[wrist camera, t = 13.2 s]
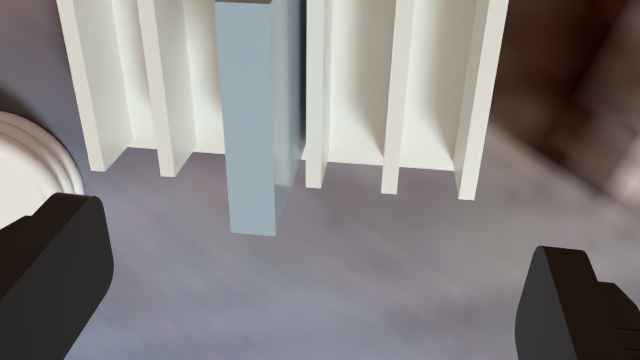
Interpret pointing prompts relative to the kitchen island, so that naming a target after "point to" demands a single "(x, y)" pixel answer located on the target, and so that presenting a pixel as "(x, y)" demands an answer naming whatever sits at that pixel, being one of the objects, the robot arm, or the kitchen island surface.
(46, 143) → the coaster
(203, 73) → the dish rack
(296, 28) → the grey board
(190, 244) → the kitchen island surface
